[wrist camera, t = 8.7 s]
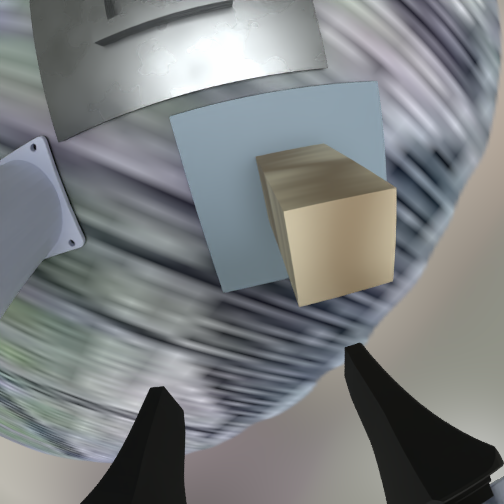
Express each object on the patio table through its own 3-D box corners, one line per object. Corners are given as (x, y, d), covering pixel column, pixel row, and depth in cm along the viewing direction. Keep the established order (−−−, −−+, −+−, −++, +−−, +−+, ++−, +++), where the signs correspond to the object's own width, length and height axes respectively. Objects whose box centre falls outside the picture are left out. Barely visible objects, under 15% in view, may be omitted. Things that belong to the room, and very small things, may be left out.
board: (223, 287, 21) (223, 292, 21) (171, 115, 15) (169, 116, 14) (382, 249, 21) (386, 253, 20) (372, 81, 15) (377, 81, 14)
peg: (268, 220, 18) (299, 306, 11) (255, 156, 16) (283, 211, 9) (331, 206, 18) (392, 280, 11) (323, 143, 16) (396, 188, 9)
